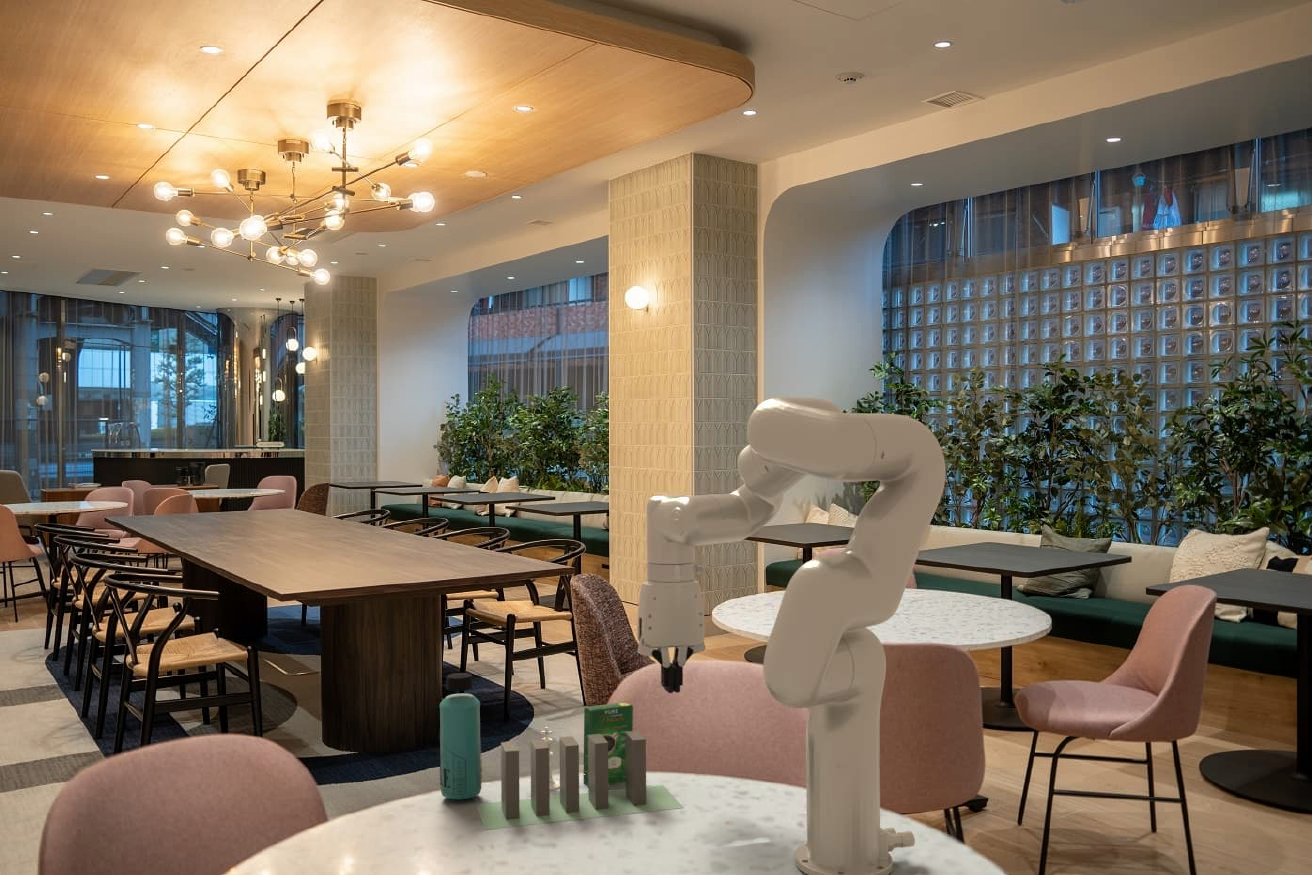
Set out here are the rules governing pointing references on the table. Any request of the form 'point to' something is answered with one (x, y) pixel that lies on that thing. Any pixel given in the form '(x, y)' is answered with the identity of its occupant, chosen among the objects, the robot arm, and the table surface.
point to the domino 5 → (635, 767)
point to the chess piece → (552, 783)
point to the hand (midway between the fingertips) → (672, 690)
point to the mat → (617, 803)
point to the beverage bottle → (460, 740)
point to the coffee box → (609, 736)
